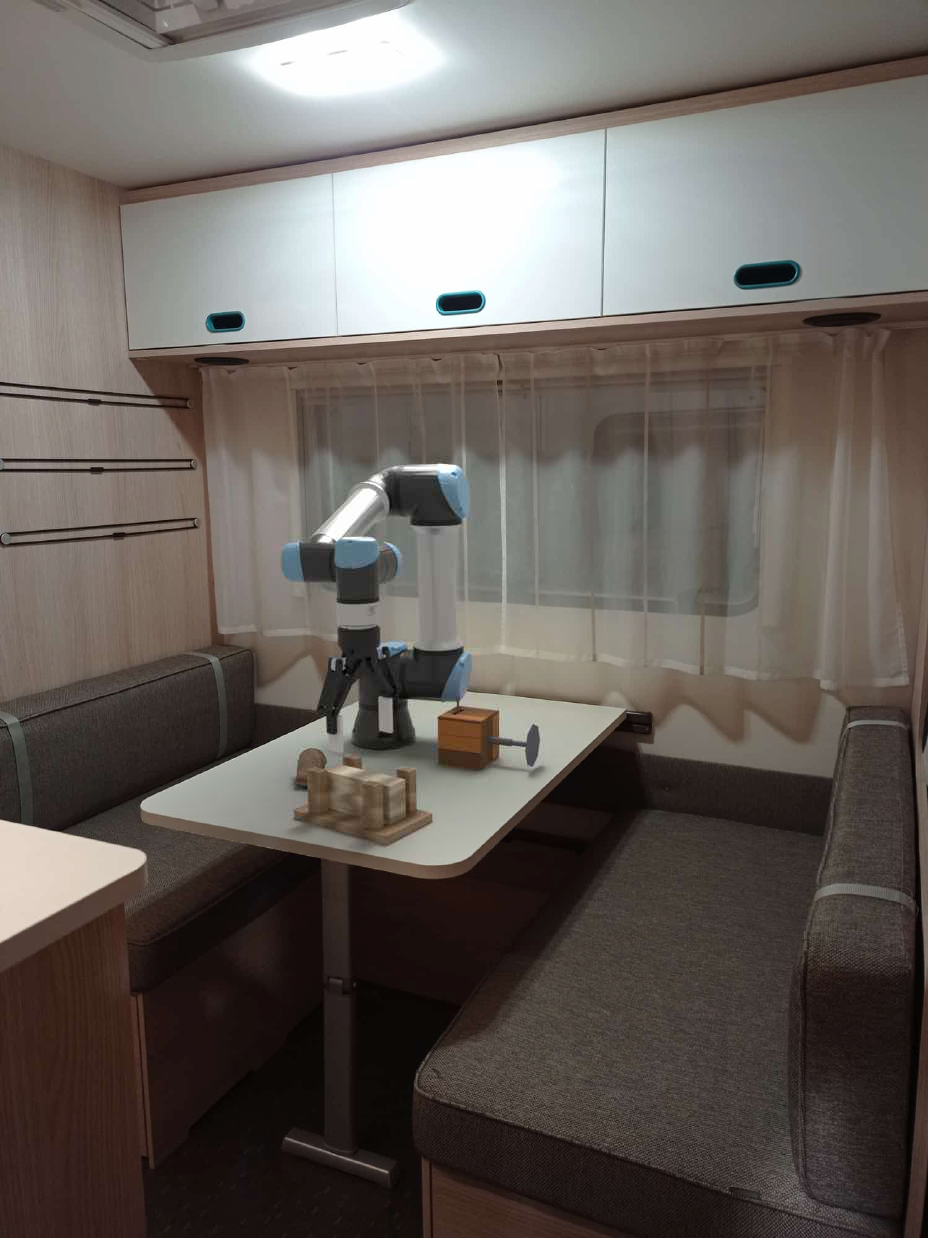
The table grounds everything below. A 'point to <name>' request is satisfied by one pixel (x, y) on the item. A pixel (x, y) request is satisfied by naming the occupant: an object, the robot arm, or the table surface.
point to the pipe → (309, 764)
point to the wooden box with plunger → (477, 738)
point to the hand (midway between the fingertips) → (362, 741)
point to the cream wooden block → (349, 792)
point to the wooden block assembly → (363, 806)
